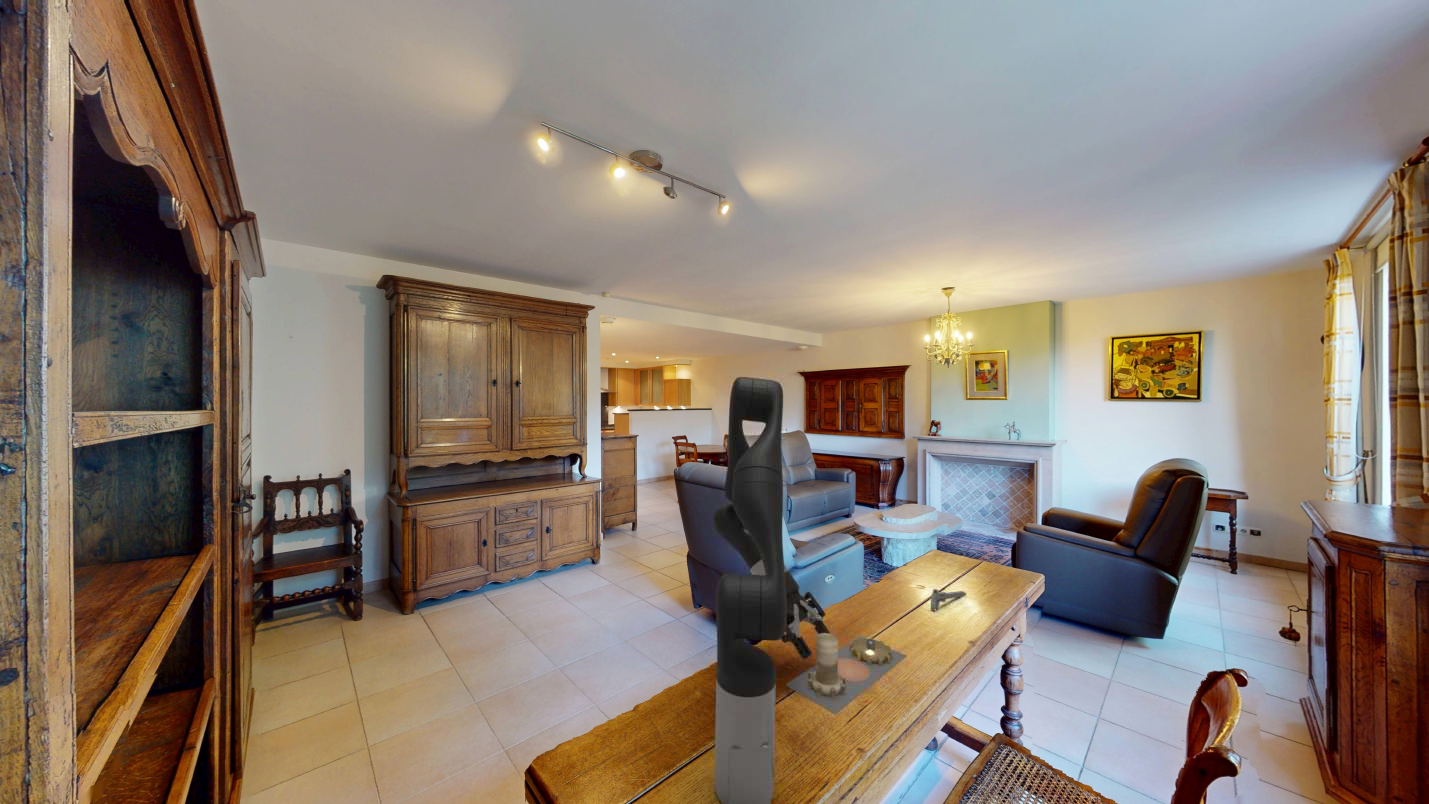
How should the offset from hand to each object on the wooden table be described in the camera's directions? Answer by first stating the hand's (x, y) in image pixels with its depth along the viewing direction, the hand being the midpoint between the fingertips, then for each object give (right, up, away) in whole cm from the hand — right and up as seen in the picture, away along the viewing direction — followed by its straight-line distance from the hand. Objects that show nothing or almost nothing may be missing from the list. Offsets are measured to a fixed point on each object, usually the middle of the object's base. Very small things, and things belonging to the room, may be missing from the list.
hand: (818, 648), depth 99 cm
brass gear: (+15, -7, +11) cm, 20 cm away
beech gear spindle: (+1, -7, -1) cm, 7 cm away
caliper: (+49, -9, +43) cm, 66 cm away
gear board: (+8, -9, +5) cm, 13 cm away
